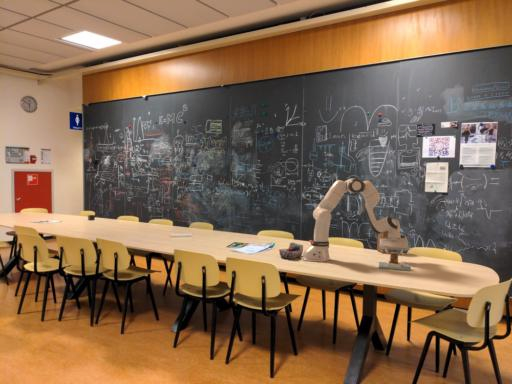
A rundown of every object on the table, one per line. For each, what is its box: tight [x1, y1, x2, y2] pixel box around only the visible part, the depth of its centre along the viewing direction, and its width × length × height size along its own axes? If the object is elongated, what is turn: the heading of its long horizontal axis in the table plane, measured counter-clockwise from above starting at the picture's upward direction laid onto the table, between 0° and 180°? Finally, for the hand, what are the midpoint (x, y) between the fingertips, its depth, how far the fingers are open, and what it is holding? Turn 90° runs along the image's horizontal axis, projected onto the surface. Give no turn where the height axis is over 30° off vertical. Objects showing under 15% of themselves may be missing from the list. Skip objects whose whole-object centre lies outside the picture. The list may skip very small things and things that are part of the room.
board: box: [378, 260, 411, 272], centre depth 268 cm, size 20×16×3 cm
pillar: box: [389, 251, 399, 264], centre depth 268 cm, size 5×5×9 cm
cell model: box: [278, 241, 304, 260], centre depth 294 cm, size 13×11×20 cm
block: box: [376, 231, 394, 254], centre depth 321 cm, size 10×10×20 cm
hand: (393, 253), depth 278 cm, fingers open, 8 cm apart
